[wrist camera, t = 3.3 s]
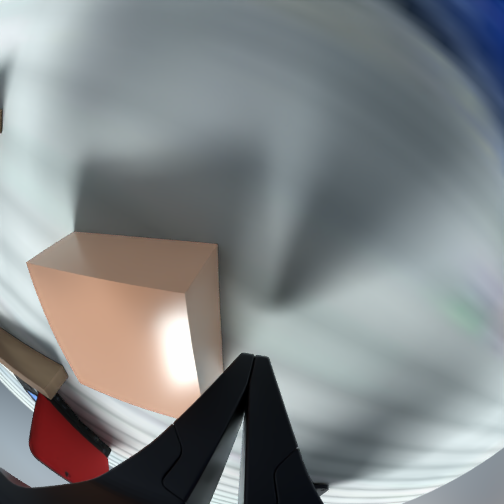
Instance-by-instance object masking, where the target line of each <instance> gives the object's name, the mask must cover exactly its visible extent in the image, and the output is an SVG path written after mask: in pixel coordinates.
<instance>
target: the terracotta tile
mask: <svg viewBox="0 0 504 504" xmlns="http://www.w3.org/2000/svg"><path fill="white" fill-rule="evenodd" d="M26 263H27V267H28V270H29V273H30V276H31V279H32V282H33V285H34V287H35V290H36V293H37V296H38V298H39V301H40V303H41V306H42V308H43V311H44V313H45V315H46V318H47V320H48V322H49V325H50V327H51V329H52V331H53V333H54V335H55V338H56V340H57V342H58V344H59V346H60V348H61V350H62V352H63V353H64V355H65V357H66V359H67V361H68V363H69V365H70V366H71V368H72V370H73V372H74V373H75V375H76V377H77V379H78V380H79V382H80V383H81V384H83V385H85V386H88V387H90V388H92V389H94V390H97V391H99V392H101V393H104V394H106V395H109V396H111V397H114V398H116V399H119V400H121V401H124V402H127V403H129V404H132V405H135V406H138V407H141V408H144V409H147V410H150V411H153V412H156V413H160V414H163V415H166V416H170V417H173V418H177V419H178V418H179V417H180V416H181V415H182V414H183V413H184V412H185V411H186V410H187V409H188V408H189V407H190V406H191V405H192V404H193V403H194V402H195V401H196V400H197V399H198V398H199V397H200V396H201V395H202V394H203V393H204V392H205V391H206V390H207V389H208V388H209V387H210V386H211V385H212V384H213V383H214V381H215V380H216V379H217V378H218V377H219V376H220V375H221V374H222V373H223V372H224V369H223V353H222V337H221V318H220V296H219V270H218V244H213V243H202V242H190V241H179V240H168V239H157V238H145V237H134V236H122V235H110V234H99V233H87V232H75V231H74V232H72V233H71V234H69V235H68V236H66V237H64V238H63V239H61V240H59V241H58V242H56V243H55V244H53V245H52V246H50V247H48V248H47V249H45V250H44V251H42V252H41V253H39V254H38V255H36V256H35V257H33V258H32V259H31V260H29V261H28V262H26Z"/></svg>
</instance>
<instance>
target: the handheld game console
mask: <svg viewBox="0 0 504 504" xmlns="http://www.w3.org/2000/svg"><path fill="white" fill-rule="evenodd" d="M14 375H15V374H14ZM15 376H16V378H17V379H18V381H19V382H20V383H21V384H22V386H23V387H24V389H25V390H26V392H27V393H28V394H29V395H30V396H31V398H32V399H33V400H34V401H35V402H36V403H35V408H34V413H33V418H32V424H31V430H30V436H29V447H30V450H31V453H32V454H33V456H34V457H35V458H36V459H37V460H38V461H40V462H41V463H42V464H44V465H45V466H46V467H48V468H49V469H51V470H52V471H53V472H55V473H56V474H58V475H59V476H60V477H62V478H64V479H65V480H66V481H68V482H70V483H76V482H82V481H86V480H90V479H93V478H96V477H98V476H100V475H102V474H104V473H106V472H108V471H109V464H108V456H109V454H110V452H111V449H110V448H109V447H108V446H107V445H106V444H105V443H103V442H102V441H101V440H100V439H99V438H98V437H97V436H96V435H95V434H94V433H93V432H92V431H91V430H90V429H89V428H87V427H86V426H85V425H84V424H83V423H82V422H81V421H80V420H79V419H78V418H77V416H76V415H75V414H74V412H73V411H72V410H71V409H70V408H69V406H68V405H67V404H66V403H65V402H64V401H63V399H62V398H61V397H60V396H59V395H58V393H56V394H55V395H54V397H53V398H52V399H49V398H47V397H46V396H44V395H43V394H41V393H40V392H39V391H37V390H36V389H34V388H33V387H31V386H30V385H29V384H27V383H26V382H24V381H23V380H22V379H20V378H19V377H18V376H17V375H15Z"/></svg>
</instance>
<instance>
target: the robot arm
mask: <svg viewBox="0 0 504 504" xmlns="http://www.w3.org/2000/svg"><path fill="white" fill-rule="evenodd" d="M244 413H245V414H244ZM243 417H244V422H243V436H242V451H241V465H240V480H239V494H238V504H324V503H323V502H322V500H321V498H320V496H321V495H322V494H323V493H325V492H326V491H328V490H329V486H328V485H313V483H312V481H311V479H310V476H309V474H308V472H307V469H306V467H305V464H304V462H303V459H302V456H301V453H300V450H299V448H298V445H297V442H296V439H295V436H294V433H293V430H292V427H291V424H290V421H289V418H288V415H287V412H286V409H285V406H284V402H283V399H282V396H281V393H280V390H279V387H278V384H277V381H276V378H275V375H274V372H273V368H272V365H271V362H270V359H269V357H267V356H261V355H256V356H254V354H249V353H241V354H240V355H239V356H238V357H237V358H236V359H235V360H234V361H233V362H232V364H231V365H230V366H229V367H228V368H227V369H226V370H225V371H224V372H223V373H222V374H221V375H220V376H219V377H218V378H217V379H216V380H215V381H214V383H213V384H212V385H211V386H210V387H209V388H208V389H207V390H206V391H205V392H204V393H203V394H202V395H201V396H200V397H199V398H198V399H197V400H196V401H195V402H194V403H193V404H192V405H191V406H190V407H189V408H188V409H187V410H186V411H185V412H184V413H183V414H182V415H181V416H180V417H179V418H178V419H177V420H176V421H175V422H174V423H173V424H174V425H173V424H171V425H170V426H169V427H168V428H167V429H166V430H165V431H164V432H163V433H162V434H161V435H159V436H158V437H157V438H156V439H155V440H154V441H152V442H151V443H150V444H149V445H147V446H146V447H144V448H143V449H142V450H140V451H139V452H138V453H136V454H135V455H133V456H131V457H130V458H128V459H127V460H125V461H124V462H122V463H121V464H119V465H117V466H116V467H114V468H113V469H111V470H109V471H108V472H106V473H104V474H102V475H100V476H98V477H96V478H93V479H90V480H86V481H82V482H76V483H70V484H63V485H55V486H46V487H35V488H31V487H30V486H28V485H26V484H25V483H23V482H22V481H20V480H18V479H17V478H15V477H14V476H12V475H11V474H9V473H8V472H6V471H5V470H4V469H2V468H0V504H209V503H210V501H211V499H212V496H213V494H214V492H215V489H216V487H217V485H218V482H219V480H220V477H221V475H222V472H223V470H224V467H225V465H226V462H227V460H228V457H229V455H230V452H231V450H232V447H233V444H234V442H235V439H236V437H237V434H238V431H239V429H240V426H241V423H242V420H243Z"/></svg>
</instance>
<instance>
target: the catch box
mask: <svg viewBox="0 0 504 504" xmlns="http://www.w3.org/2000/svg"><path fill="white" fill-rule="evenodd" d="M0 133H2V109H1V110H0ZM0 362H1V363H2V364H3V365H4V366H5V367H7V368H8V369H9V370H10V371H11V372H13V373H14V374H15V375H17V376H18V377H19V378H20V379H22V380H23V381H24V382H26V383H27V384H29V385H30V386H31V387H33V388H34V389H36V390H37V391H39V392H40V393H41V394H43V395H44V396H46V397H47V398H49V399H52V398H53V397H54V395H55V394H56V393H57V391H58V390H59V389H60V387H61V386H62V384H63V383H64V382H65V380H66V379H67V378H68V375H67V373H66V372H65V370H64V368H63V366H62V365H60V364H58V363H56V362H54V361H53V360H51V359H49V358H47V357H45V356H44V355H42V354H40V353H39V352H37V351H35V350H34V349H32V348H30V347H29V346H27V345H26V344H24V343H23V342H21V341H19V340H18V339H16V338H15V337H13V336H12V335H11V334H9V333H8V332H6V331H5V330H3V329H2V328H1V327H0Z"/></svg>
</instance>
